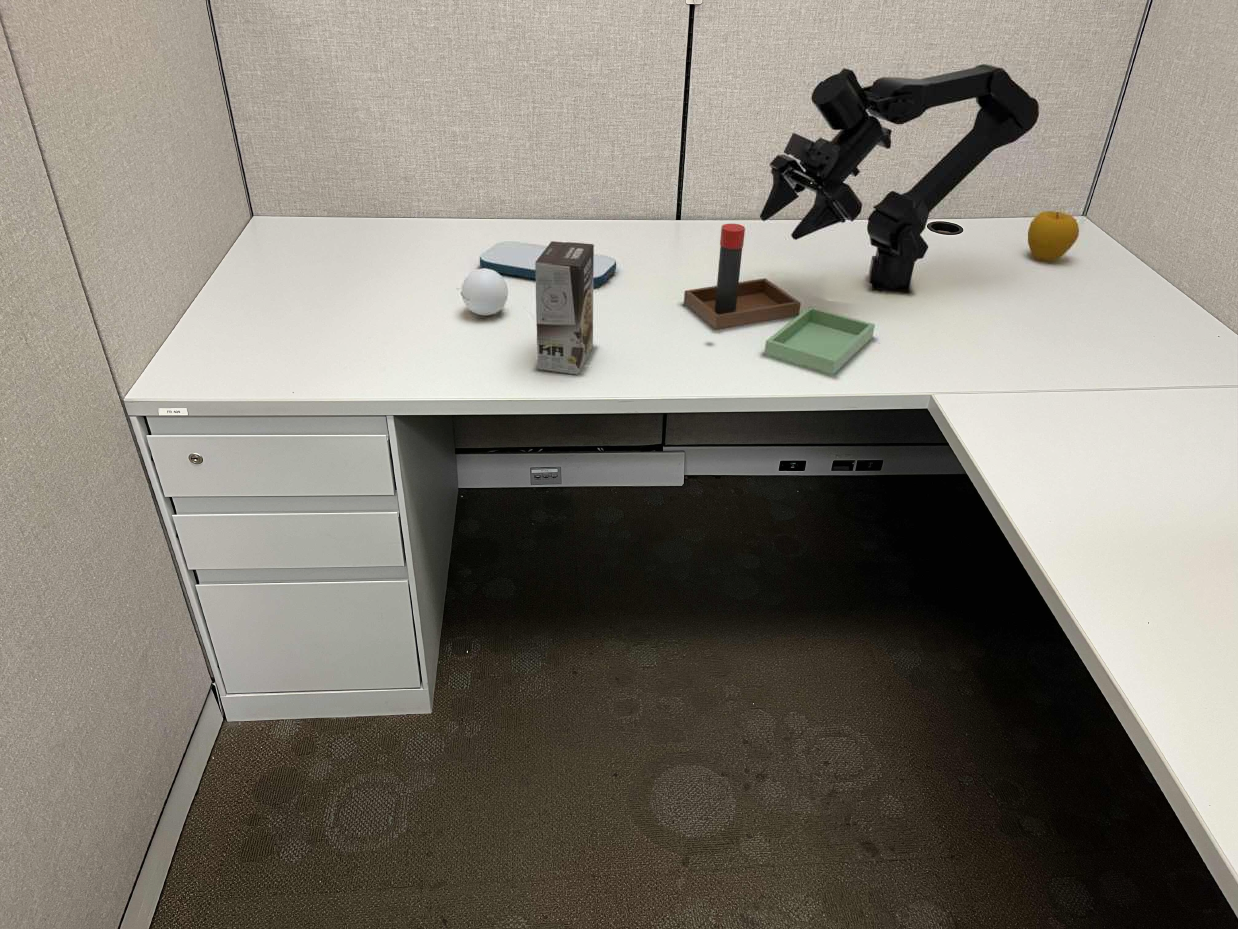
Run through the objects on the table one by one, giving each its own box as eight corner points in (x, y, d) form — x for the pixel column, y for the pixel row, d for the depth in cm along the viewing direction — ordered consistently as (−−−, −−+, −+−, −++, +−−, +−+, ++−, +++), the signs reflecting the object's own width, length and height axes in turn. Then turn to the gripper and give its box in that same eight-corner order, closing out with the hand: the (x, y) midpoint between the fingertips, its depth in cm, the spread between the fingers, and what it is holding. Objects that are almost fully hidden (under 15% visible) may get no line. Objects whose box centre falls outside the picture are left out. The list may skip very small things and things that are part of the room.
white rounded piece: (515, 307, 143) (513, 263, 139) (499, 325, 137) (497, 281, 133) (458, 299, 144) (454, 256, 140) (440, 318, 139) (435, 273, 134)
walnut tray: (763, 291, 150) (765, 278, 149) (798, 316, 142) (800, 302, 141) (683, 304, 145) (684, 290, 144) (715, 331, 137) (716, 316, 135)
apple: (1073, 256, 168) (1088, 210, 163) (1065, 270, 162) (1080, 223, 157) (1026, 247, 171) (1039, 202, 166) (1017, 260, 165) (1030, 213, 160)
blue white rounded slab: (473, 270, 155) (472, 260, 154) (502, 249, 164) (502, 238, 163) (598, 291, 148) (598, 280, 147) (621, 268, 157) (621, 257, 156)
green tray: (807, 320, 141) (809, 306, 139) (872, 339, 136) (875, 324, 134) (763, 355, 130) (765, 340, 129) (832, 376, 125) (835, 361, 124)
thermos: (740, 311, 142) (749, 227, 135) (727, 318, 140) (736, 232, 132) (722, 305, 144) (730, 221, 136) (709, 312, 142) (716, 227, 134)
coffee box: (580, 375, 124) (580, 266, 115) (536, 370, 125) (532, 261, 116) (594, 347, 131) (595, 242, 122) (553, 342, 132) (551, 238, 123)
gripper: (787, 100, 137) (719, 178, 140) (859, 128, 123) (782, 214, 126) (822, 148, 144) (756, 221, 147) (893, 180, 130) (820, 260, 133)
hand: (776, 228), depth 138 cm, fingers open, 9 cm apart
